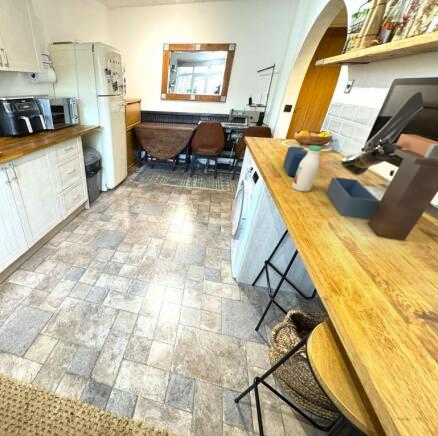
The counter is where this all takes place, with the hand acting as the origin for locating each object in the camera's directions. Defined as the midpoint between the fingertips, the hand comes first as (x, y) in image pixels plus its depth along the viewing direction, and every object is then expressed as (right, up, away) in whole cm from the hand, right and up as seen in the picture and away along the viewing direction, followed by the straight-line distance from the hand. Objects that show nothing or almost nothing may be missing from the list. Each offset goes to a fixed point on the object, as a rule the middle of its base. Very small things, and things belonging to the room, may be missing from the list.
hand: (405, 141), depth 81 cm
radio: (-5, 0, +55) cm, 55 cm away
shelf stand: (-5, -30, +3) cm, 31 cm away
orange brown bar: (-3, -5, -6) cm, 9 cm away
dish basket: (-4, -20, +19) cm, 28 cm away
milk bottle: (-14, -12, +34) cm, 38 cm away
